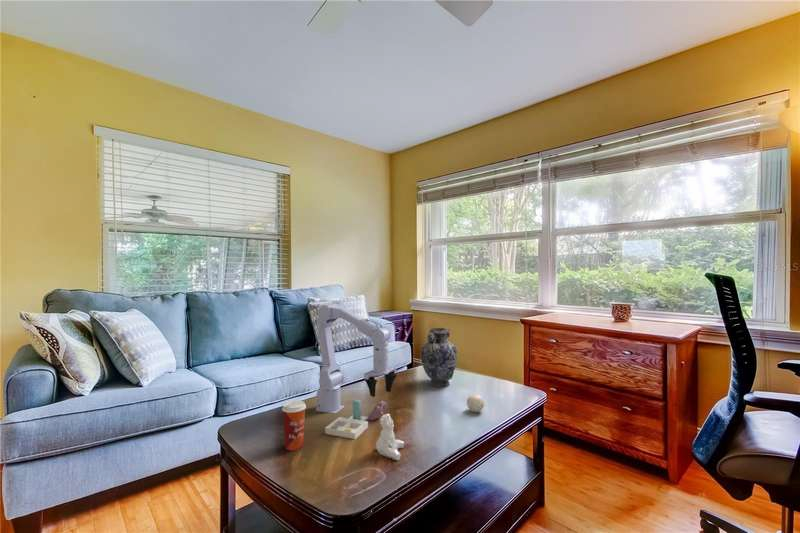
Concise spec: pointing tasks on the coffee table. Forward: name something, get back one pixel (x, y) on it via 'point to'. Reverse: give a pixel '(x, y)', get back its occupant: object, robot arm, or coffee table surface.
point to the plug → (357, 409)
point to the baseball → (475, 403)
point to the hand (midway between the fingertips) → (380, 393)
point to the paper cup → (294, 424)
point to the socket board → (346, 427)
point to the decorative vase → (439, 357)
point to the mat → (361, 417)
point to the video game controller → (377, 410)
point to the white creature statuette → (388, 439)
